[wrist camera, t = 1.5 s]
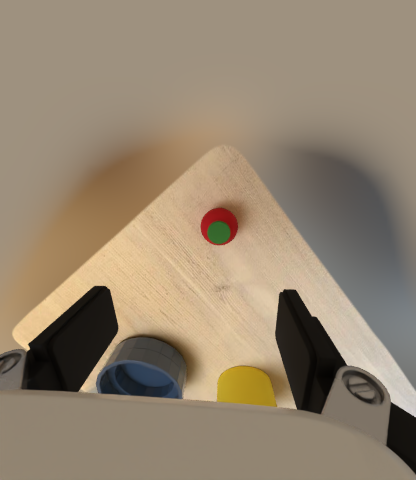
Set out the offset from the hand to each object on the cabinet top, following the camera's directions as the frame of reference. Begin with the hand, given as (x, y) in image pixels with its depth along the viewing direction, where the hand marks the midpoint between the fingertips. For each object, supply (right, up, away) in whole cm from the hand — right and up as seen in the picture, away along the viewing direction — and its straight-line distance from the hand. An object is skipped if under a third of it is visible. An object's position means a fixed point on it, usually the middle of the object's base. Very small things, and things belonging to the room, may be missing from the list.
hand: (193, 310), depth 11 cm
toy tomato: (+2, +6, +16) cm, 17 cm away
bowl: (-10, -19, +26) cm, 34 cm away
